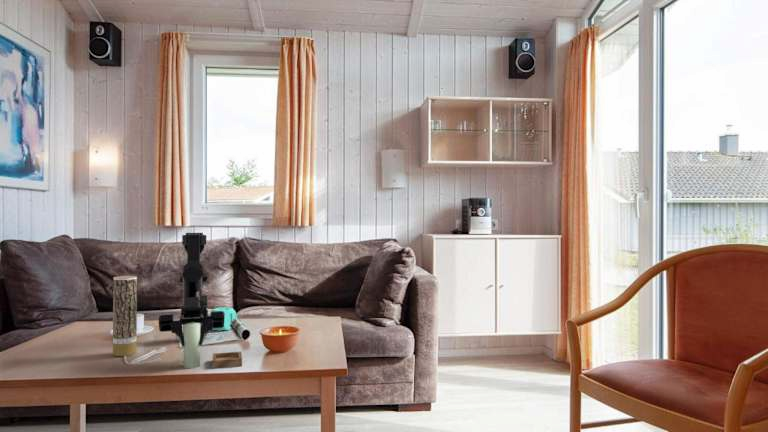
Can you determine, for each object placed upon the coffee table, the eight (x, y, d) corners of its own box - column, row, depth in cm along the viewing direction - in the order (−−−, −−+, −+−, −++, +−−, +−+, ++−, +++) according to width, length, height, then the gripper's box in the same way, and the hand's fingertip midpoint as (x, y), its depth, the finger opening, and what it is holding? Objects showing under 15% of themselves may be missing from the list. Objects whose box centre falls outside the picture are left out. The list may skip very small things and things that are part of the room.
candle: (180, 368, 146) (181, 323, 147) (187, 363, 151) (188, 319, 151) (196, 368, 146) (196, 323, 146) (202, 363, 151) (202, 320, 151)
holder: (212, 368, 146) (212, 360, 146) (213, 360, 154) (213, 353, 155) (241, 366, 149) (242, 358, 149) (241, 358, 157) (241, 351, 157)
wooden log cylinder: (141, 352, 163) (141, 276, 163) (124, 358, 157) (124, 278, 157) (125, 350, 165) (125, 275, 165) (107, 356, 159) (108, 277, 159)
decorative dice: (223, 332, 193) (223, 311, 193) (207, 330, 196) (207, 309, 196) (237, 328, 200) (237, 308, 200) (222, 326, 203) (222, 306, 203)
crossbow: (148, 369, 149) (147, 363, 149) (112, 366, 152) (111, 360, 151) (181, 352, 164) (181, 346, 164) (148, 349, 167) (147, 343, 167)
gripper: (159, 287, 149) (156, 332, 139) (224, 285, 156) (226, 327, 145) (160, 309, 157) (158, 353, 146) (223, 306, 163) (224, 348, 153)
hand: (191, 345), depth 147 cm, fingers closed on candle, 5 cm apart
